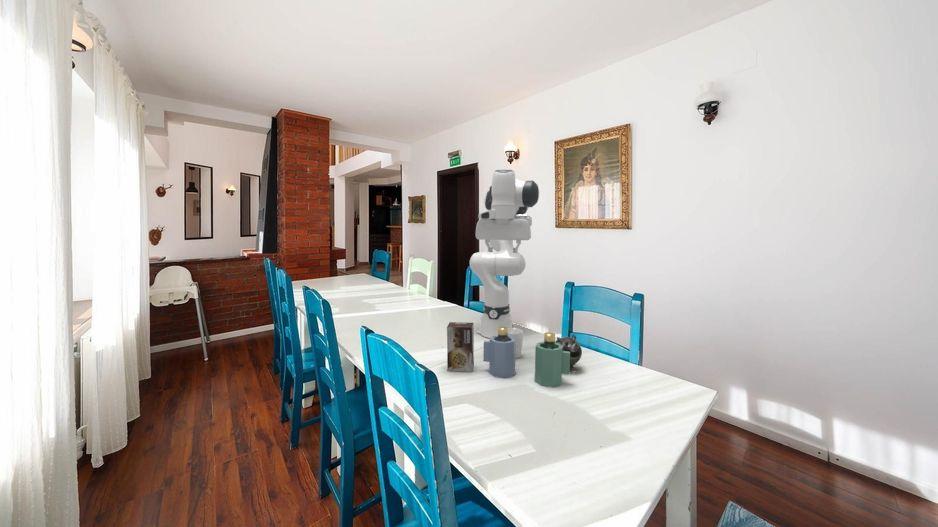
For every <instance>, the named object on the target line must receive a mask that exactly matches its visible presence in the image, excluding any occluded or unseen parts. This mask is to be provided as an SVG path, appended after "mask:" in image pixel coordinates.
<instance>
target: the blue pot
mask: <svg viewBox="0 0 938 527" xmlns="http://www.w3.org/2000/svg"><path fill="white" fill-rule="evenodd" d="M515 353H516V339H515V338H513V337H511V336H508V337H506V338H504V342H501V338H500V337H498V336H492V337H491V338H489V340H484V341H483V362H486V363H489V364H488V366H489V368H488V373H489V374H490V376H491V375H492V376H493V377H496V378H502V379H505V378H506V379H507V378H510V377H514V375H515V373H516V358H515Z"/></svg>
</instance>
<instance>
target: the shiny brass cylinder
mask: <svg viewBox="0 0 938 527" xmlns="http://www.w3.org/2000/svg"><path fill="white" fill-rule="evenodd" d="M543 334H544V335H543V336H544V338H543V342H544V343H545V344H548V349H551V345H553V344H555V341H556V334H555V333H554V332H549V331H547V332H544V333H543Z"/></svg>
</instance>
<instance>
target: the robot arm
mask: <svg viewBox="0 0 938 527" xmlns="http://www.w3.org/2000/svg"><path fill="white" fill-rule="evenodd" d="M539 198H540V188H539V185H538V184H537V183H536V182H535V181H534V180H522V179H519V178H517V177H516V174H515V170H512V169H497V170H494V171H493V175H492V179H491V185H490V186H489V190H488V191H487V192H486V194H485V196H484V199H483V200H484V201H483V202H484V207H485V209H486V211H484V212H483V211H482V212H480V213H479V214H478V219H479V220H478V221H477V222H476V227H475V238H476V239H477V240H483V241H484V243H485V245H486V247H487V251H486V250H485V251H478V252H475V253H473V254H472V255H471V257H470V259H469V269H471V271H472V272H473V274H474V275H476V277H478V278H479V280H480V281H481V284H482V286H483V289H484V304H483V313H482V315H481V316H480V321H479V322H480V323H479V329H478V330H476V334H479V335H481V336H482V337H484V338H488V339H490V338H491V337H492V336H498V327H508V328H517V326H516V325H514V324H513V323H512V322H513V317H512V316H511V314H510V313H511V312H510V311H511V309H510V308H511V307H510V303H509V300H510V299H509V298H510V296H509V293H510V292H509V288H508V286H507V285H505V284H504V283H502V282H500V281H499V280H498V278H497V276H502V277H503V276H504V277H513V276H519V275H521V274H522V273H523V272H524V270H525V268H526V260H525V258H524V256H523V254H521V253H520V252H519V248H520V246H521V244H522V241H530V240H531V239H532V232H531V231H532V229H531V226H532V224H533V219H532V217H531V216H530V215H528V214H526V213H527V211H528V210H529V208H533V207H534V206H536V205H537V204H538V201H539ZM514 241H516V242H515V244H516V246H515V247H514ZM493 250H494V251H493Z"/></svg>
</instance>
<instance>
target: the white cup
mask: <svg viewBox="0 0 938 527" xmlns="http://www.w3.org/2000/svg"><path fill="white" fill-rule="evenodd" d="M508 336H511V337H513V338H515V339H516V353H515V359H520V358H521V357H522V351H523V344H524V343H523V341H524V330H523V329H521V328H517V327H516V328H508Z"/></svg>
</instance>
